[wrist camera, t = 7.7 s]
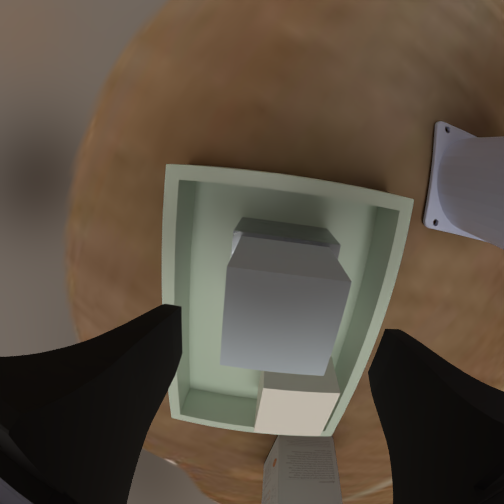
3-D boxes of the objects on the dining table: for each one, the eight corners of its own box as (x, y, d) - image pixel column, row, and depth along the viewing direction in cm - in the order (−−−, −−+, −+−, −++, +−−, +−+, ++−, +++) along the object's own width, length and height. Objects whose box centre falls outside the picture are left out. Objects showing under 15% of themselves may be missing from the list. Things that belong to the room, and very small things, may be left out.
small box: (311, 467, 27) (314, 550, 15) (263, 463, 27) (255, 550, 15) (334, 434, 24) (347, 536, 12) (278, 431, 25) (274, 539, 12)
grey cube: (329, 247, 14) (351, 282, 10) (312, 323, 15) (323, 375, 11) (241, 235, 14) (226, 266, 10) (233, 313, 15) (219, 364, 11)
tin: (326, 228, 18) (340, 245, 14) (311, 304, 19) (319, 335, 15) (242, 216, 18) (233, 230, 14) (234, 294, 19) (225, 324, 16)
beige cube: (329, 348, 20) (340, 393, 16) (314, 392, 22) (320, 435, 17) (266, 342, 20) (263, 387, 16) (257, 387, 22) (253, 431, 17)
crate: (387, 192, 17) (414, 199, 13) (326, 404, 23) (331, 436, 19) (188, 164, 18) (166, 164, 14) (183, 387, 24) (171, 417, 20)
